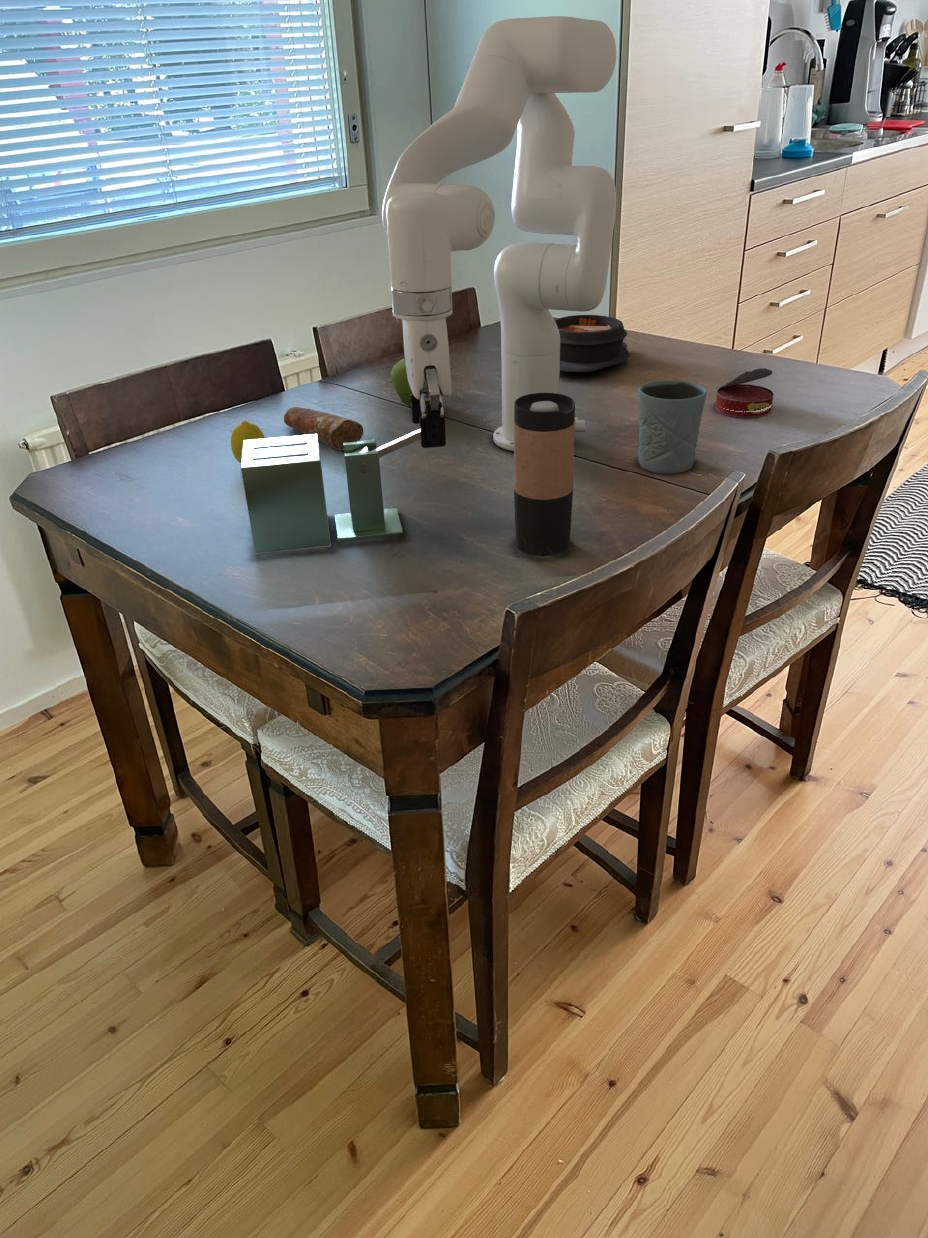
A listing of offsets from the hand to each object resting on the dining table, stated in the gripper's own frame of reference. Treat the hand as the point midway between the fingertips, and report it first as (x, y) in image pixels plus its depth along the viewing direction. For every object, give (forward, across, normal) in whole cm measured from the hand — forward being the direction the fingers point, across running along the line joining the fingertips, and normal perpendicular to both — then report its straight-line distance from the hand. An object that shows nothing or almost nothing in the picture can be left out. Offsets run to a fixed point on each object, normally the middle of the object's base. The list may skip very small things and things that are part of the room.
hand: (428, 433), depth 124 cm
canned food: (+13, +35, -62) cm, 72 cm away
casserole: (+12, +70, -42) cm, 83 cm away
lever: (+3, 0, +4) cm, 5 cm away
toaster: (+14, 0, +20) cm, 24 cm away
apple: (+13, +51, -5) cm, 53 cm away
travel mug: (+14, -10, -13) cm, 22 cm away
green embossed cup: (+13, +14, -40) cm, 44 cm away
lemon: (+14, +28, +26) cm, 41 cm away
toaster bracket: (+14, 0, +9) cm, 16 cm away
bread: (+13, +39, +15) cm, 44 cm away
